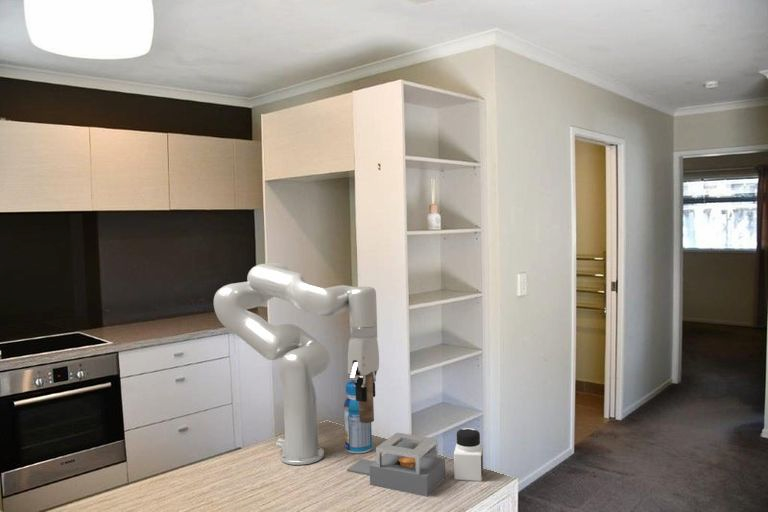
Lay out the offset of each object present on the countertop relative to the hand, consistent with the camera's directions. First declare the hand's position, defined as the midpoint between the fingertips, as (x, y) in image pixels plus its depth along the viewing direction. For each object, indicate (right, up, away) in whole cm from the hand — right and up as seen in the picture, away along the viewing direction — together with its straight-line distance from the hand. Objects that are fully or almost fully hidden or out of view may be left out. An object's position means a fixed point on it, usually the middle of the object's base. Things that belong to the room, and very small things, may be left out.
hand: (365, 398), depth 160 cm
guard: (+11, -15, -8) cm, 20 cm away
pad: (0, -19, +1) cm, 19 cm away
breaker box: (+11, -20, -8) cm, 24 cm away
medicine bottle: (+27, -19, -5) cm, 34 cm away
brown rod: (0, -6, 0) cm, 6 cm away
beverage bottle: (-3, -19, +15) cm, 24 cm away
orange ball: (+11, -19, -8) cm, 24 cm away
